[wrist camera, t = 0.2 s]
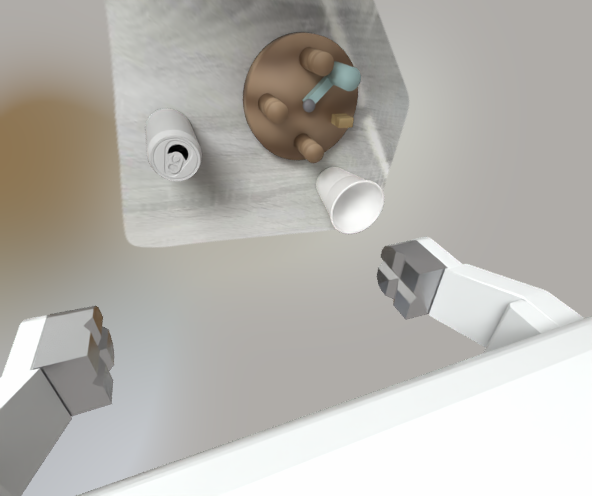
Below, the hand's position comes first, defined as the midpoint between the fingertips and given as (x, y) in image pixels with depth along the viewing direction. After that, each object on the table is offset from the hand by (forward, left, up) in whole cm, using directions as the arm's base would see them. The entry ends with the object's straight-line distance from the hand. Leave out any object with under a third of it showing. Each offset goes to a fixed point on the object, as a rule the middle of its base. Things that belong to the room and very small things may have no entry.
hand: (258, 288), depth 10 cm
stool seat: (+5, +20, -47) cm, 51 cm away
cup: (+20, +27, -47) cm, 58 cm away
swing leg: (+3, +22, -45) cm, 50 cm away
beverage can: (+9, 0, -47) cm, 48 cm away
